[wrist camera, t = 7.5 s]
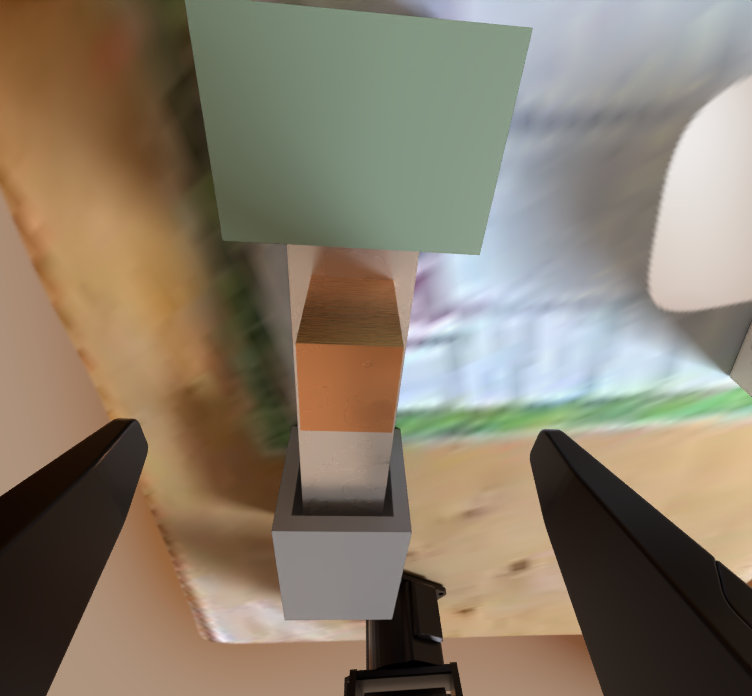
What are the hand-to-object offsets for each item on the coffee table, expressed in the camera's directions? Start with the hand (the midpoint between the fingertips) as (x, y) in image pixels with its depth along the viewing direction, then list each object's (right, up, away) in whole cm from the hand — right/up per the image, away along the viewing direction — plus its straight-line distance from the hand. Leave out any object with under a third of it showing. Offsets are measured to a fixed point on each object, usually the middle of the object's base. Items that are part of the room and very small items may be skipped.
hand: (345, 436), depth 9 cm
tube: (-1, +2, +10) cm, 10 cm away
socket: (0, +10, +6) cm, 12 cm away
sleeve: (-1, -7, +18) cm, 19 cm away
